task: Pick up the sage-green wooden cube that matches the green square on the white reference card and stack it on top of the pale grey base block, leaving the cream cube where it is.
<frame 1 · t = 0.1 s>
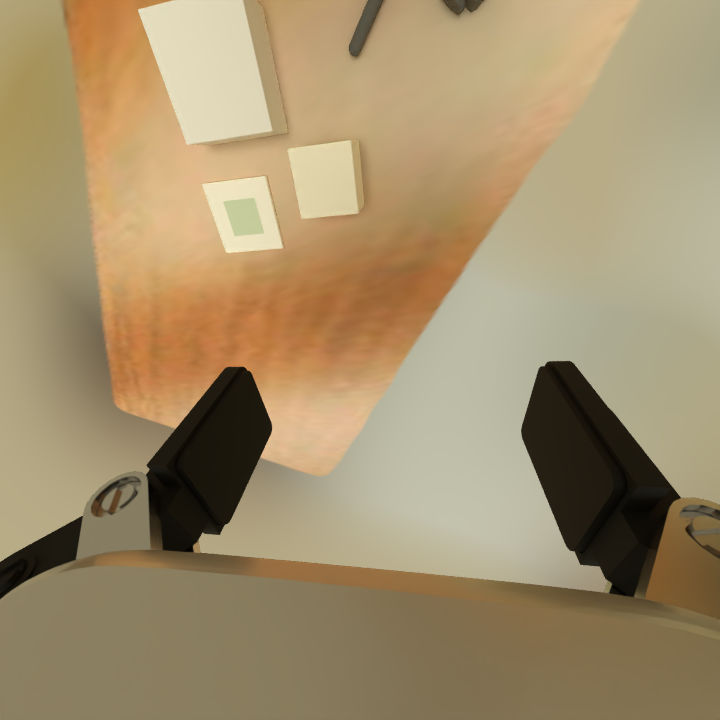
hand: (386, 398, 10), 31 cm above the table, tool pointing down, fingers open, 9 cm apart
base block: (235, 84, 30), on the table
reference card: (245, 216, 37), on the table
cream cube: (335, 177, 34), on the table
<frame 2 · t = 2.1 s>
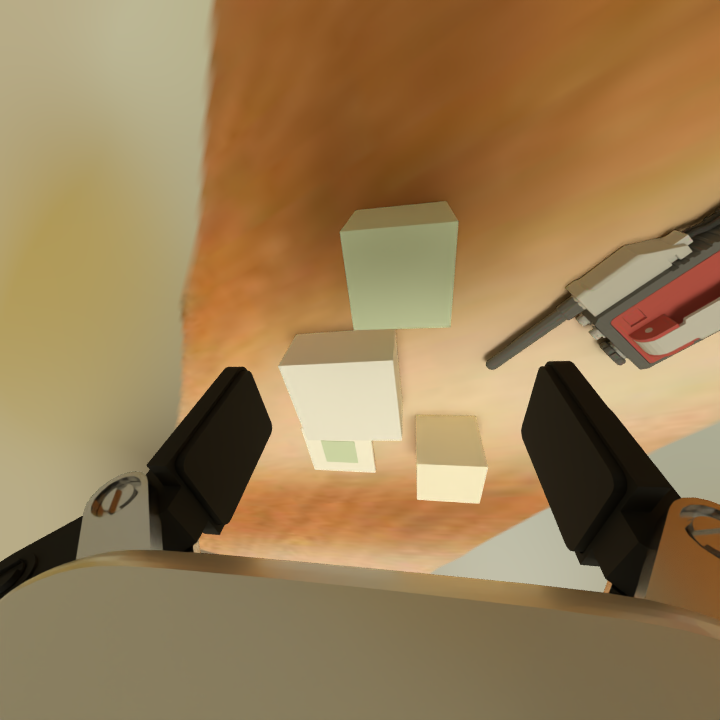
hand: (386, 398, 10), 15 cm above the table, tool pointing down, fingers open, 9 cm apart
base block: (353, 369, 29), on the table
reference card: (340, 448, 36), on the table
sage cube: (401, 251, 22), on the table
walkie-talkie: (623, 299, 22), on the table
cream cube: (443, 433, 33), on the table
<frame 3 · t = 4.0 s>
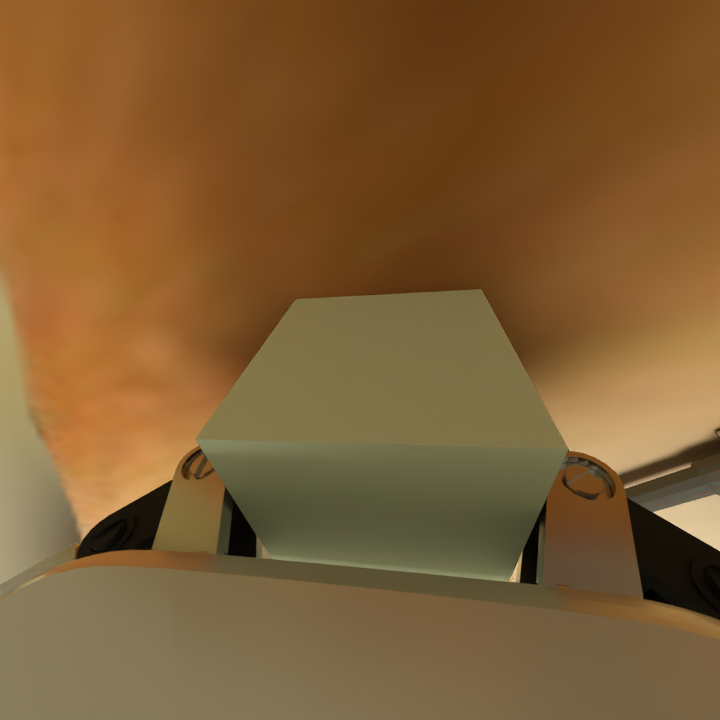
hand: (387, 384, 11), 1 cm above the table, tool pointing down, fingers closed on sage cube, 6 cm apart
sage cube: (388, 368, 11), on the table, touching gripper
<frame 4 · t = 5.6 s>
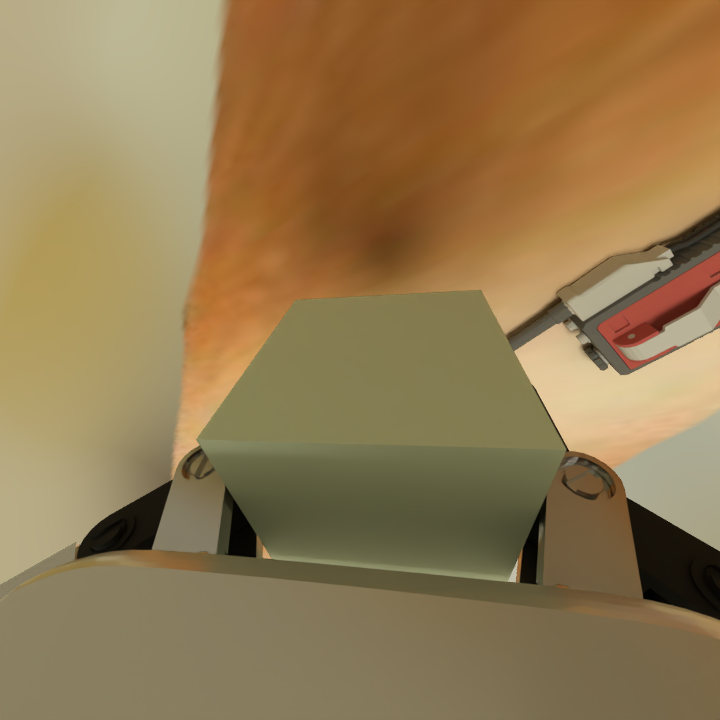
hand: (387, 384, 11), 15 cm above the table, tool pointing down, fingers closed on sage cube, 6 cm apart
sage cube: (388, 368, 11), point 14 cm above the table, touching gripper
walkie-talkie: (608, 308, 24), on the table
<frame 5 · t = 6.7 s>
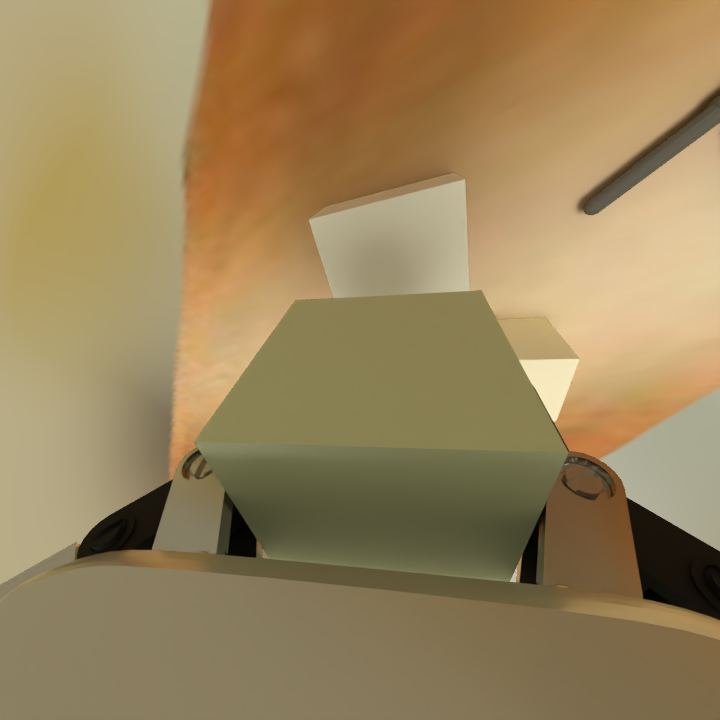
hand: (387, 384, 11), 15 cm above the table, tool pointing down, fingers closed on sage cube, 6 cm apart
base block: (397, 254, 23), on the table
sage cube: (388, 369, 11), point 15 cm above the table, touching gripper
cream cube: (501, 348, 27), on the table
when the fingers open (7 cm above the table, at t = 8.6 s): sage cube drops 2 cm, resting on base block.
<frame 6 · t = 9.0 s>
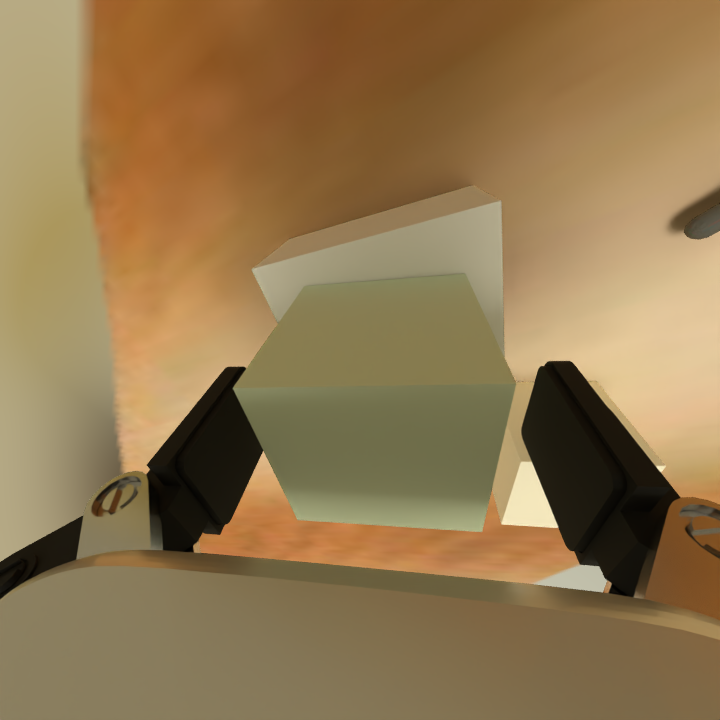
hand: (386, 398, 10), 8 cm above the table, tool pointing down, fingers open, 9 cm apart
base block: (394, 297, 17), on the table, touching sage cube
sage cube: (387, 347, 13), point 5 cm above the table, touching base block
cream cube: (531, 415, 20), on the table
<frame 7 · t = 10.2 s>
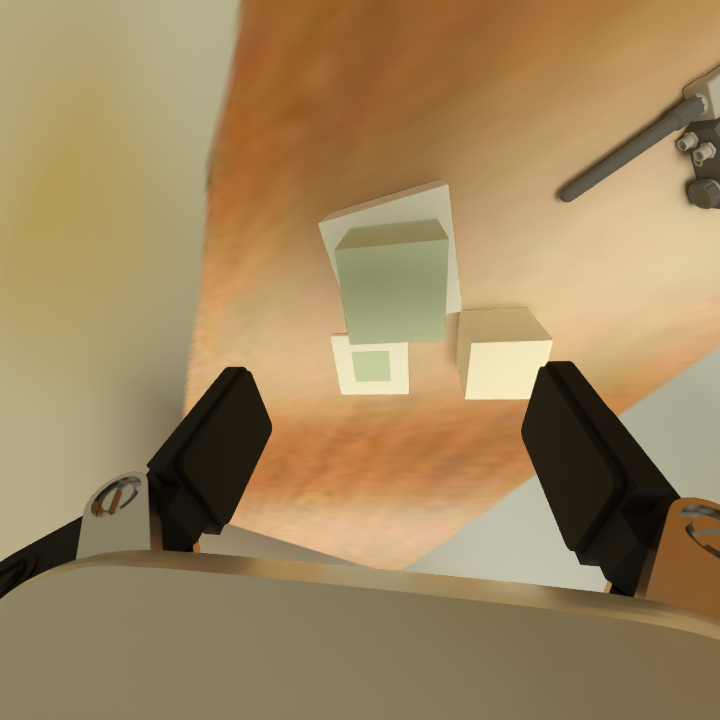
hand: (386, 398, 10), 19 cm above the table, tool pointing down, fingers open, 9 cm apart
base block: (395, 251, 26), on the table, touching sage cube
reference card: (372, 364, 33), on the table
sage cube: (395, 266, 22), point 5 cm above the table, touching base block
cream cube: (488, 336, 30), on the table
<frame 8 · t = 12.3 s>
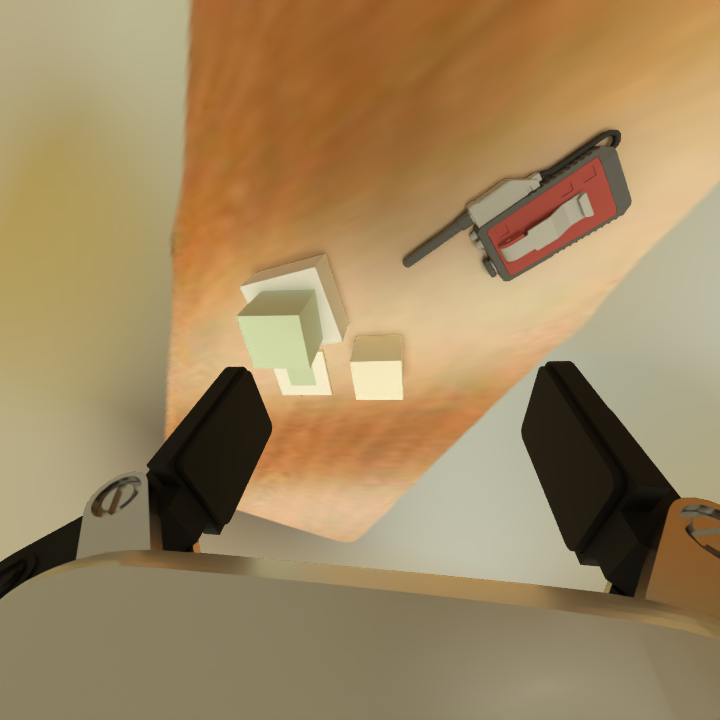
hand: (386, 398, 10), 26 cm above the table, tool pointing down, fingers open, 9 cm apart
base block: (304, 297, 38), on the table
reference card: (302, 372, 44), on the table
sage cube: (293, 315, 33), point 5 cm above the table
walkie-talkie: (503, 228, 31), on the table
cream cube: (380, 353, 41), on the table
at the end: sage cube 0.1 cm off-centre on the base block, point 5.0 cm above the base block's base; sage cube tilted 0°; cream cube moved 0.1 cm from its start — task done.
